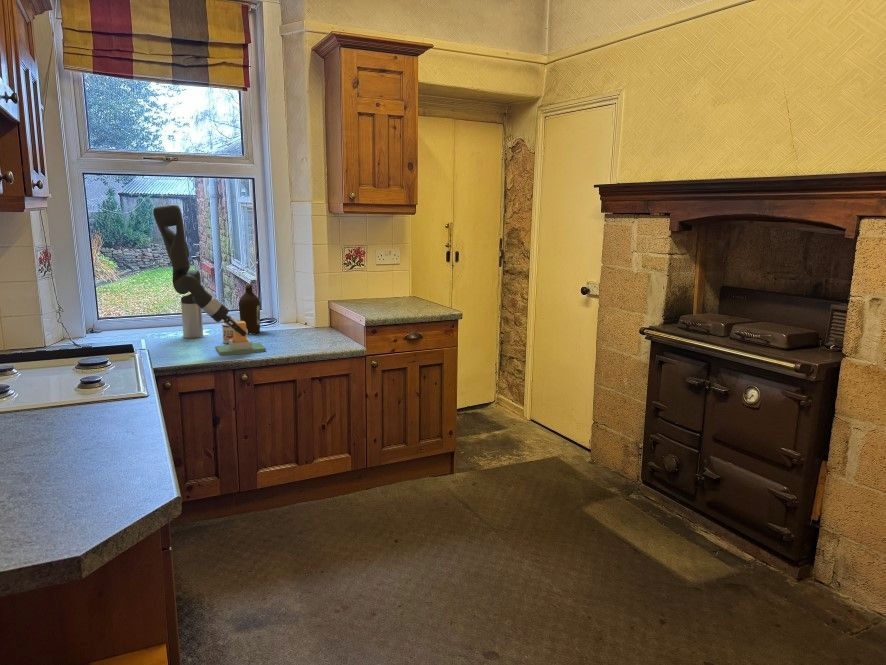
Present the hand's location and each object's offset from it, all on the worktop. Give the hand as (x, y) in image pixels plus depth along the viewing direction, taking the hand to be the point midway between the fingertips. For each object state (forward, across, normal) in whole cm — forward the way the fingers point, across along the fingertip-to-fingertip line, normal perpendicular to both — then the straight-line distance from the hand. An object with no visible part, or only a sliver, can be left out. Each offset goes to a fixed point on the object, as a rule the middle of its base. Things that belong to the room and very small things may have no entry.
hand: (243, 333), depth 277 cm
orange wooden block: (+3, 0, +5) cm, 6 cm away
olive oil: (+13, +38, -2) cm, 41 cm away
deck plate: (+4, 0, +7) cm, 8 cm away
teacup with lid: (+5, +18, +6) cm, 20 cm away
